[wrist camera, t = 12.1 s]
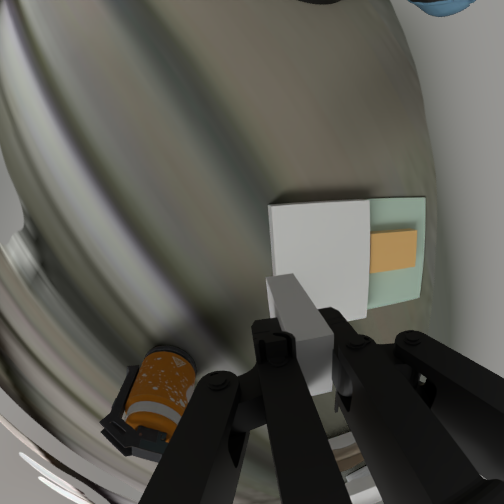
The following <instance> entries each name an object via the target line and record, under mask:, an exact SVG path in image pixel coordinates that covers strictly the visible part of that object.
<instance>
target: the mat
mask: <svg viewBox="0 0 504 504" xmlns="http://www.w3.org/2000/svg"><path fill="white" fill-rule="evenodd" d="M366 200H370V231H382V230H395V229H408V228H411V229H414V230H417V248H416V262H415V267H410V268H404V269H397V270H391V271H384V272H377V273H369V288H368V303H367V309H371V308H376V307H381V306H385V305H390V304H395V303H399V302H403V301H408V300H412V299H416V298H420V290H421V281H422V272H423V260H424V245H425V198H424V197H419V198H375V199H366Z"/></svg>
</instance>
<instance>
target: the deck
mask: <svg viewBox="0 0 504 504" xmlns="http://www.w3.org/2000/svg"><path fill="white" fill-rule="evenodd" d="M268 212H269V225H270V239H271V253H272V267H273V276H278V275H284V274H291V273H293V274H294V276H295V277H296V279H297V280H298V281H299V283H300V284H301V286H302V287H303V289H304V290H305V292H306V293H307V295H308V296H309V298H310V299H311V300H312V302H313V303H314V305H315V306H316V308H317V309H321V308H327V307H332V308H334V309H336V310H338V311H339V312H340V313H341V314H342V315H343V317H344V318H345V319H346V320H347V321H352V320H357V319H362V318H366V315H367V303H368V288H369V267H370V200H364V199H350V200H330V201H313V202H298V203H284V204H272V205H268Z"/></svg>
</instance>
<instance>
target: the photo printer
mask: <svg viewBox="0 0 504 504" xmlns="http://www.w3.org/2000/svg"><path fill="white" fill-rule="evenodd" d="M369 475H371V474H370V471H369V469H368V467H367V466H365V467H363V468H361V469H359V470H357V471H355V472H353V473H351V474H349V475H348V476H347V477H346V478H347V481H348V482H349V481H352V480H354V479H358V478H361V477H365V476H369Z"/></svg>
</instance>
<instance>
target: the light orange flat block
mask: <svg viewBox="0 0 504 504" xmlns="http://www.w3.org/2000/svg"><path fill="white" fill-rule="evenodd" d="M416 248H417V230H414V229H411V228H408V229H395V230H382V231H370V267H369V273H377V272H384V271H391V270H397V269H404V268H410V267H415V262H416Z"/></svg>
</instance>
